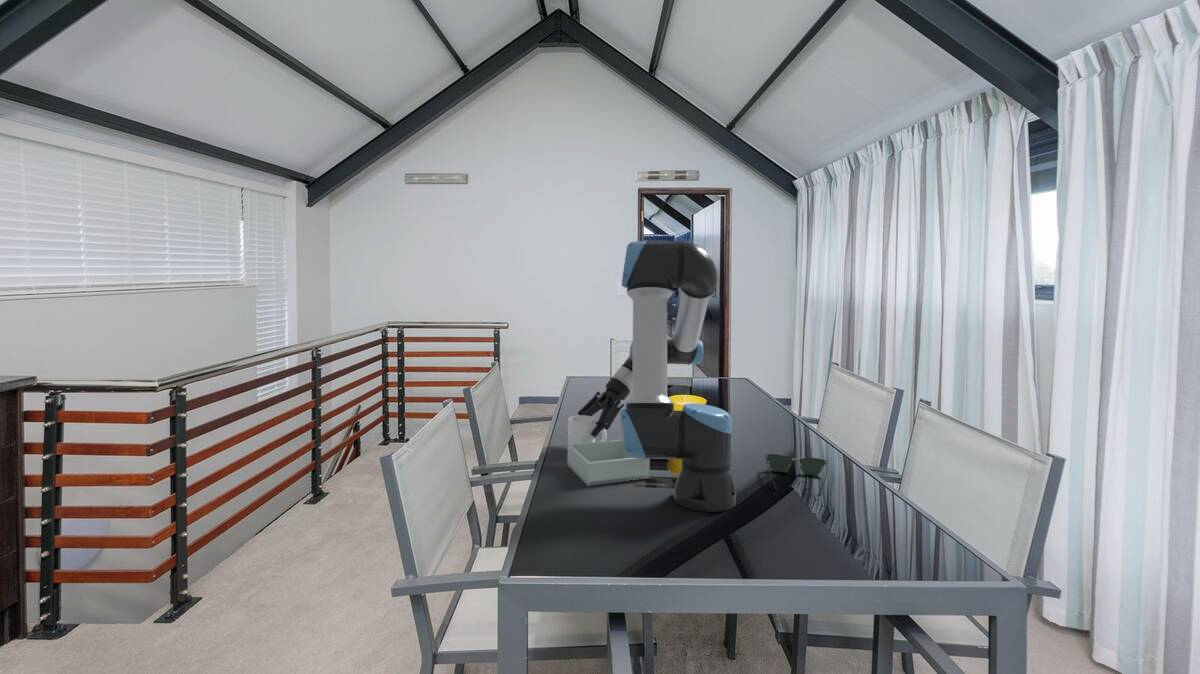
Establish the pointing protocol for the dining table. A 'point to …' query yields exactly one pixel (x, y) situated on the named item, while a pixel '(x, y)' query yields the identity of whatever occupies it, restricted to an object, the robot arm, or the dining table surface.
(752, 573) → the dining table surface
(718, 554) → the dining table surface
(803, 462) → the sunglasses
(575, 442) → the mug
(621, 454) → the bin
